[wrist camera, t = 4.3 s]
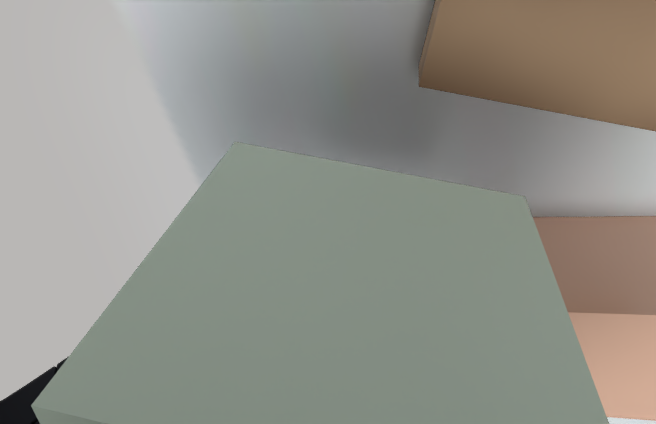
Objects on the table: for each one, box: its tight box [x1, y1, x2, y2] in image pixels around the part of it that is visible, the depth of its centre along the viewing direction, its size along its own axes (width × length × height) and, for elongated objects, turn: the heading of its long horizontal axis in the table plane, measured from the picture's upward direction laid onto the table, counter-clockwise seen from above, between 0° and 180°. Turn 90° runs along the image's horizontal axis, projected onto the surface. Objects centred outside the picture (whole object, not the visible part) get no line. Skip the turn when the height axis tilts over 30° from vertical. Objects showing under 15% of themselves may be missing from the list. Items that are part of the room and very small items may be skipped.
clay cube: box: [533, 216, 656, 421], centre depth 19 cm, size 6×6×6 cm
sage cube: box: [31, 142, 609, 424], centre depth 8 cm, size 6×6×6 cm
